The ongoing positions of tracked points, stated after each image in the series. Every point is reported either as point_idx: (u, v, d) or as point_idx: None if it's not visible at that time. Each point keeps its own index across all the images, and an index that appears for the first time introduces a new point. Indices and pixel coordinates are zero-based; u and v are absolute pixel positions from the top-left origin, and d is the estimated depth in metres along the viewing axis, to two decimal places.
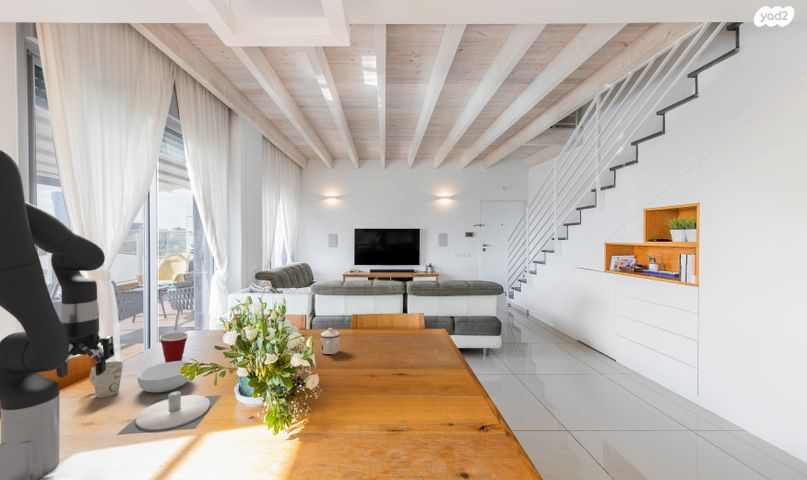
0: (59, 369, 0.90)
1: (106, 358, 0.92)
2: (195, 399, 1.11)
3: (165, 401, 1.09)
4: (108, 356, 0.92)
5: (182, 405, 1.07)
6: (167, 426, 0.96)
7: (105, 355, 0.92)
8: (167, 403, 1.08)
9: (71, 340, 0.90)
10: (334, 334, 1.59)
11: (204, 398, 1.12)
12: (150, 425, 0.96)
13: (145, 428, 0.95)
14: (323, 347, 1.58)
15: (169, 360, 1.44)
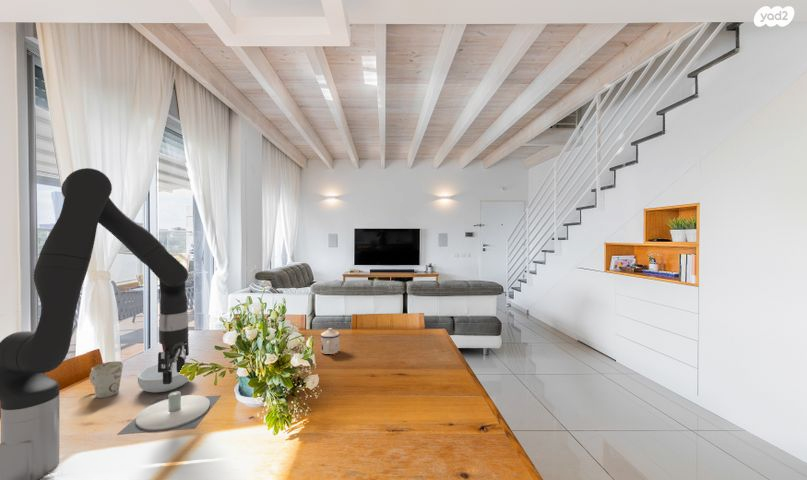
0: (171, 375, 1.01)
1: (188, 354, 1.11)
2: (195, 399, 1.11)
3: (165, 401, 1.09)
4: None
5: (182, 405, 1.07)
6: (167, 426, 0.96)
7: (187, 352, 1.11)
8: (167, 403, 1.08)
9: (175, 346, 1.03)
10: (334, 334, 1.59)
11: (204, 398, 1.12)
12: (150, 425, 0.96)
13: (145, 428, 0.95)
14: (323, 347, 1.58)
15: (169, 360, 1.44)
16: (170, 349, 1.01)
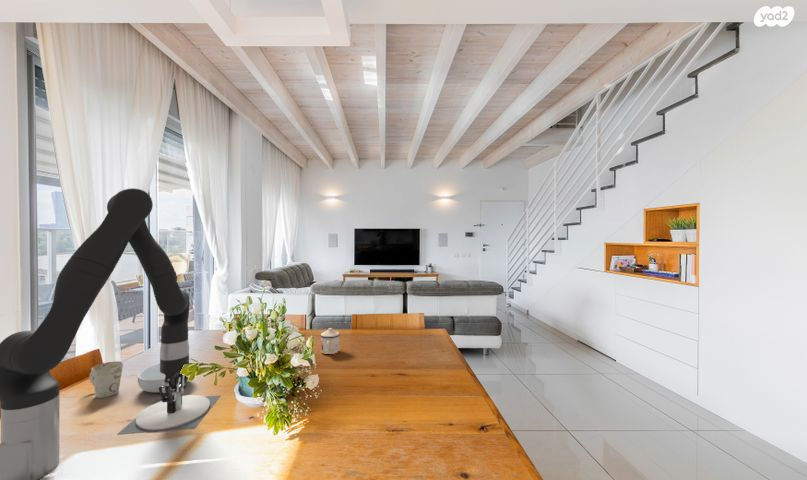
0: (175, 404, 1.03)
1: (185, 388, 1.09)
2: (195, 399, 1.11)
3: None
4: None
5: (182, 405, 1.07)
6: (167, 426, 0.96)
7: (185, 385, 1.09)
8: None
9: (176, 375, 1.03)
10: (334, 334, 1.59)
11: (204, 398, 1.12)
12: (150, 425, 0.96)
13: (145, 428, 0.95)
14: (323, 347, 1.58)
15: None
16: (170, 380, 1.01)
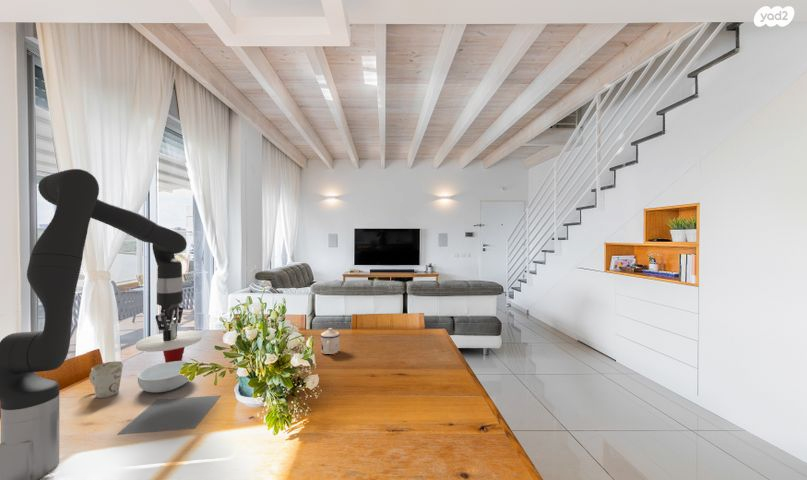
0: (170, 333, 1.16)
1: (179, 322, 1.22)
2: (189, 333, 1.24)
3: (162, 334, 1.22)
4: None
5: (177, 336, 1.20)
6: (163, 348, 1.09)
7: (179, 319, 1.22)
8: None
9: (171, 307, 1.16)
10: (334, 334, 1.59)
11: (197, 332, 1.25)
12: (148, 347, 1.09)
13: (144, 350, 1.08)
14: (323, 347, 1.58)
15: (169, 360, 1.44)
16: (165, 311, 1.13)
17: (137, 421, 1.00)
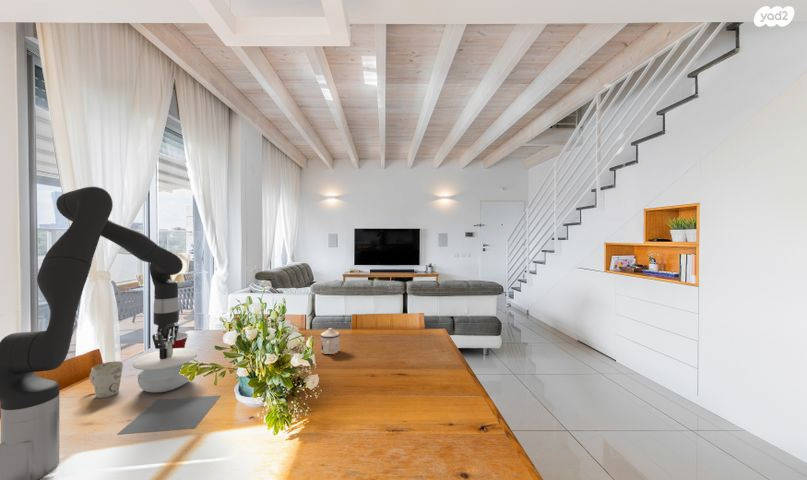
0: (166, 351, 1.20)
1: (175, 340, 1.26)
2: (184, 350, 1.29)
3: (158, 352, 1.27)
4: None
5: (173, 354, 1.25)
6: (159, 367, 1.14)
7: (175, 337, 1.26)
8: None
9: (167, 327, 1.21)
10: (334, 334, 1.59)
11: (192, 350, 1.29)
12: (145, 366, 1.13)
13: (141, 368, 1.13)
14: (323, 347, 1.58)
15: None
16: (162, 330, 1.18)
17: (137, 421, 1.00)
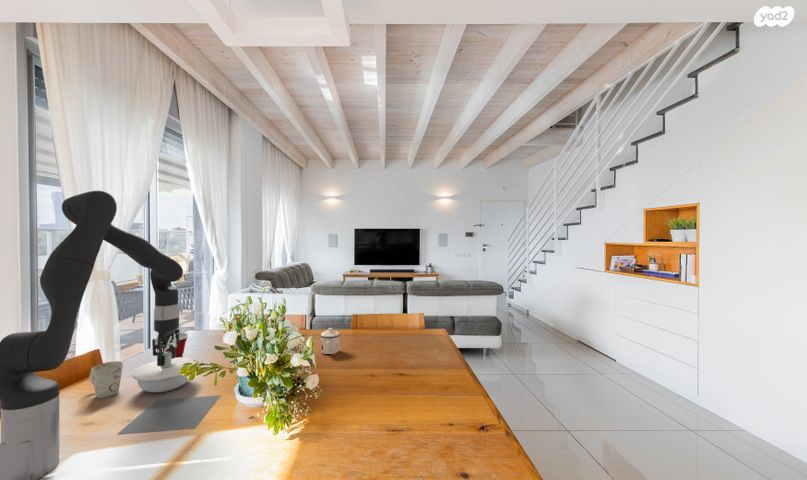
0: (164, 358, 1.19)
1: (178, 343, 1.28)
2: (184, 360, 1.29)
3: None
4: None
5: (172, 364, 1.25)
6: (159, 377, 1.13)
7: (178, 341, 1.28)
8: None
9: (167, 333, 1.21)
10: (334, 334, 1.59)
11: (192, 359, 1.29)
12: (145, 376, 1.13)
13: (140, 379, 1.13)
14: (323, 347, 1.58)
15: None
16: (162, 336, 1.18)
17: (137, 421, 1.00)
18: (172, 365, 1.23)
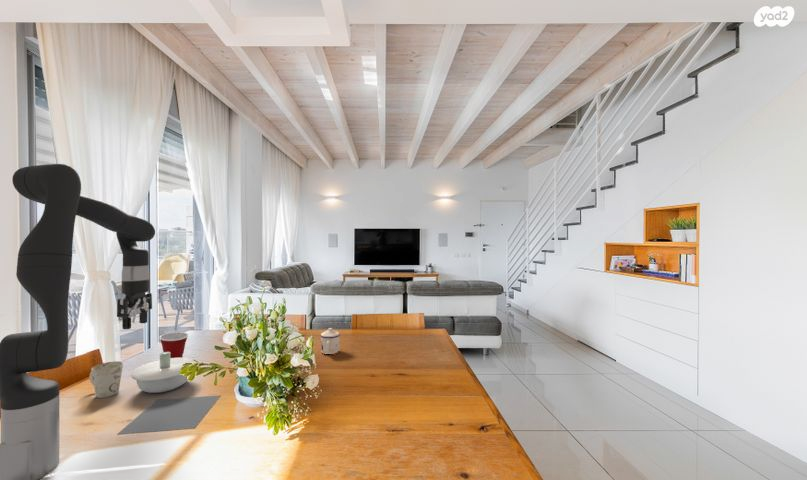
0: (130, 321, 1.11)
1: (151, 308, 1.22)
2: (183, 360, 1.28)
3: (157, 362, 1.27)
4: None
5: (171, 364, 1.24)
6: (158, 377, 1.13)
7: (150, 306, 1.22)
8: (159, 362, 1.26)
9: (136, 296, 1.14)
10: (334, 334, 1.59)
11: (191, 359, 1.29)
12: (143, 377, 1.13)
13: (139, 379, 1.13)
14: (323, 347, 1.58)
15: None
16: (130, 297, 1.12)
17: (137, 421, 1.00)
18: (171, 365, 1.23)
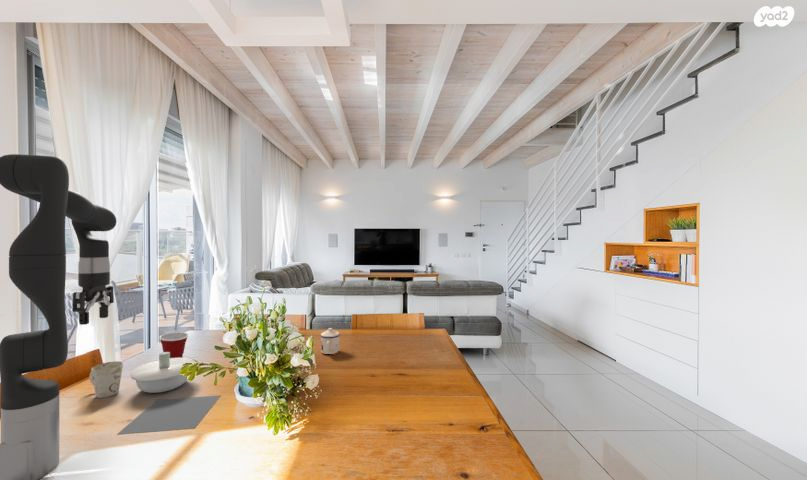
0: (87, 316, 1.04)
1: (112, 302, 1.15)
2: (182, 360, 1.28)
3: (156, 362, 1.26)
4: None
5: (171, 364, 1.24)
6: (157, 378, 1.13)
7: (112, 299, 1.15)
8: (158, 363, 1.25)
9: (94, 289, 1.07)
10: (334, 334, 1.59)
11: (190, 359, 1.29)
12: (143, 377, 1.13)
13: (139, 379, 1.13)
14: (323, 347, 1.58)
15: None
16: (87, 291, 1.05)
17: (137, 421, 1.00)
18: (170, 365, 1.23)
